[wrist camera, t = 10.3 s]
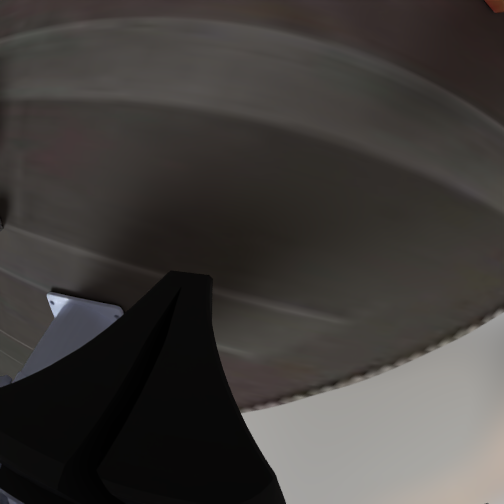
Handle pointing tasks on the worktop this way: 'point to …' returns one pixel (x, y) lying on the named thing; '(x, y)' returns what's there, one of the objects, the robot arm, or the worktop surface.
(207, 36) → the worktop surface
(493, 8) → the cracker box
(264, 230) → the worktop surface
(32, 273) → the worktop surface
